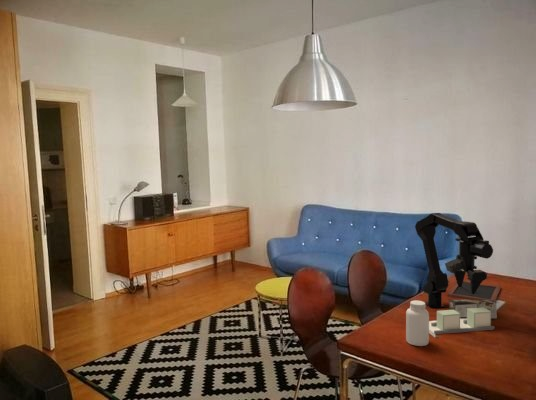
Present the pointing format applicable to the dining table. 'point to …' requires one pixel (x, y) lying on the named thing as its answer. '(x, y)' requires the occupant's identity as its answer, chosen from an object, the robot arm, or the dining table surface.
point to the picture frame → (481, 293)
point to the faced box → (478, 317)
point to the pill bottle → (417, 324)
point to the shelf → (463, 328)
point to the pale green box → (448, 319)
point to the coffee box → (472, 306)
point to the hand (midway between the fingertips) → (466, 290)
